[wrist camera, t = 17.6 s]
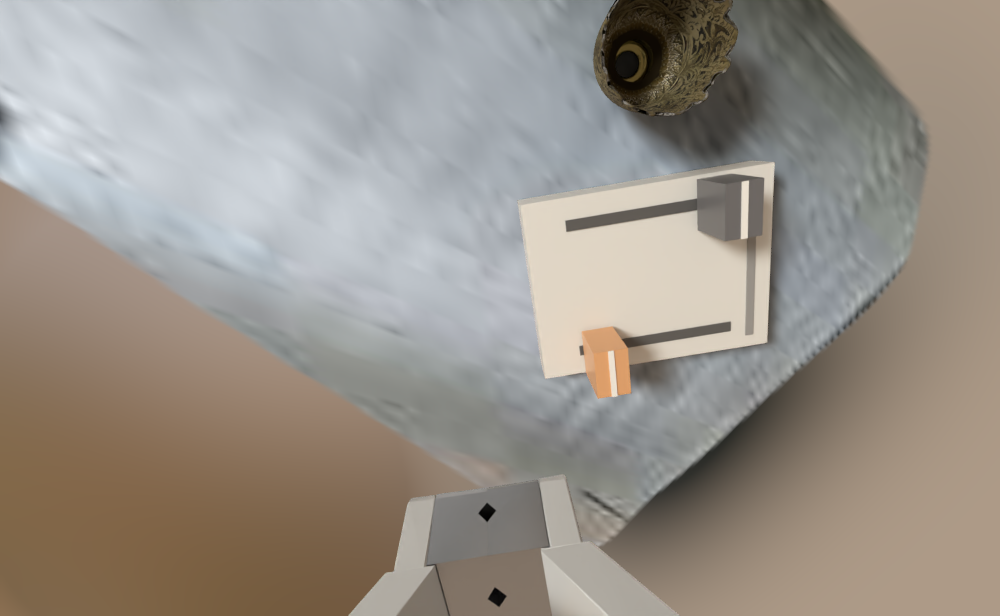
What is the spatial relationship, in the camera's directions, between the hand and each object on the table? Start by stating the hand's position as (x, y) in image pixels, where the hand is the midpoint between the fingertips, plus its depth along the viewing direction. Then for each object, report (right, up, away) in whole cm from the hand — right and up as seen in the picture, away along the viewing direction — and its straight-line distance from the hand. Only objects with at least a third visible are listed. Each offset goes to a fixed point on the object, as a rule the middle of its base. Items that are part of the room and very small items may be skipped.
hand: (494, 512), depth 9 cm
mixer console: (+11, +7, +29) cm, 32 cm away
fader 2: (+15, +11, +24) cm, 31 cm away
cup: (+9, +21, +24) cm, 33 cm away
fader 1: (+8, +1, +27) cm, 29 cm away
